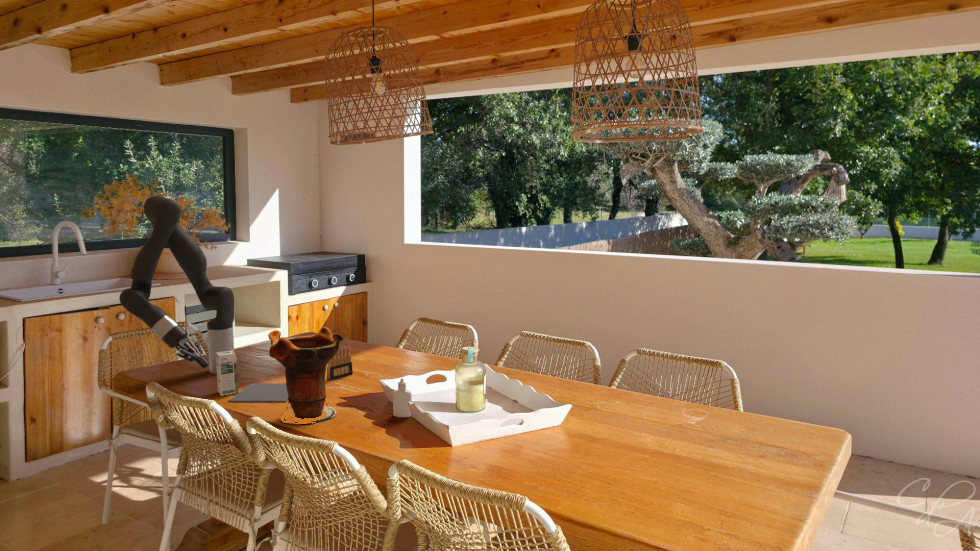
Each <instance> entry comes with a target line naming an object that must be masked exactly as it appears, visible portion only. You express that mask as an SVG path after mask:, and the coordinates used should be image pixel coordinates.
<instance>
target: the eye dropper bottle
mask: <svg viewBox="0 0 980 551" xmlns="http://www.w3.org/2000/svg"><path fill="white" fill-rule="evenodd" d="M409 401H410V402H412V401H413V400H412V392H411V390H408V389H407V382H406V381H404V378H403V377H401V378H400V380H399V381H398V382H397V389H395V390H394V391H393V393H392V411H393V416H394V417H395V416H396V417H397V418H411V416H412V415H411V412H410V409H409V406H408V402H409ZM412 403H413V402H412Z"/></svg>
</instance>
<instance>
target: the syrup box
mask: <svg viewBox="0 0 980 551" xmlns="http://www.w3.org/2000/svg"><path fill="white" fill-rule="evenodd" d="M237 364H238V363H237V354H236V352H235V350H234V351H225V352H217V353H216V368H217V374H216V379H217V380H216V381H217V392H218V394H219V393H220V394H219V396H220V397H224V395H225V396H230V395H236V394H238V393H239V383H238V380H239V379H238V367H237V366H238V365H237Z"/></svg>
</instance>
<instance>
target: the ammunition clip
mask: <svg viewBox="0 0 980 551" xmlns="http://www.w3.org/2000/svg"><path fill="white" fill-rule="evenodd" d="M351 353H352V352H351V347H350V344H349V343H348V344H347V346H346V344H344V345H343V346H342V345H339V349H338V351H337V353H336V354H335V356H334V357H333V358H332V359H331V360H330V361H329V362H328V363H327V366H326V376H327V378H326V379H327V381H331V380H332V381H335V380H339V379H342V378H341V377H343V378H345V376H346V377H349V376H348V375H350V376H352V374H353V373H354V372H353V362H352V354H351ZM353 375H354V374H353ZM338 378H339V379H338ZM334 379H335V380H334Z"/></svg>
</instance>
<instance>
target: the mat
mask: <svg viewBox="0 0 980 551" xmlns="http://www.w3.org/2000/svg"><path fill="white" fill-rule="evenodd" d="M287 402H289V401H288V392H287V387H286V382H285V383H282V382H281V383H271V382H270V383H269V382H267V383H265V382H264V383H263V382H261V383H255V382H254V383H253V382H252V383H249V384H248V385H247V386H245V387H243V389H242V390H240V391H238V394H234V396H232V397H231V398H230V399H229V400H228V403H287Z"/></svg>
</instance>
